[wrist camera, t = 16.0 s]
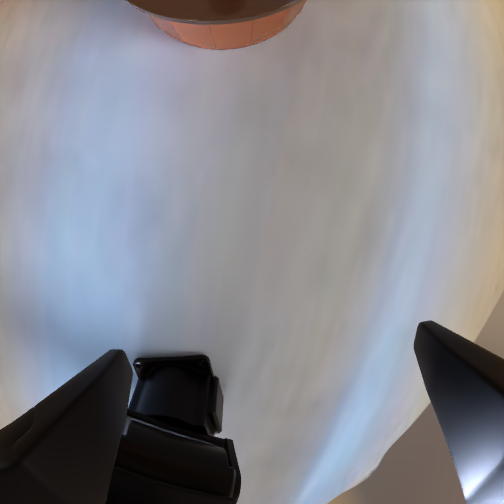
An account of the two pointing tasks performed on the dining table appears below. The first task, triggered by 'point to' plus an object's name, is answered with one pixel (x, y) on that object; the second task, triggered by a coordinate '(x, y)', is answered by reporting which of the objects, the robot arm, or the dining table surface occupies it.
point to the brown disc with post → (211, 10)
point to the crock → (230, 30)
